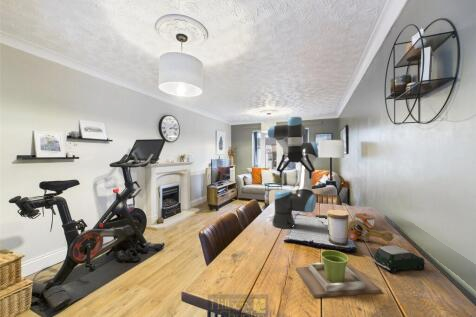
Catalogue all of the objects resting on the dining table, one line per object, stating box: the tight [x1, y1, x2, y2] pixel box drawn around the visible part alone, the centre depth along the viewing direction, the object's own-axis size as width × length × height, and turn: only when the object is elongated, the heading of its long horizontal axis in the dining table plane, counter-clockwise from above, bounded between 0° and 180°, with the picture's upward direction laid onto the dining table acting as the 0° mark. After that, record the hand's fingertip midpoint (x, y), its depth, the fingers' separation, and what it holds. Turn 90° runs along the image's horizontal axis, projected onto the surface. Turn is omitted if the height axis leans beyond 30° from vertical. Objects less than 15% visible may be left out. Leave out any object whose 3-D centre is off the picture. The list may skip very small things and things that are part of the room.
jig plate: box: [295, 262, 383, 299], centre depth 74 cm, size 24×16×3 cm, turn 95°
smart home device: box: [315, 214, 328, 219], centre depth 143 cm, size 8×2×20 cm
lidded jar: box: [354, 212, 375, 229], centre depth 128 cm, size 11×11×9 cm
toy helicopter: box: [347, 213, 394, 243], centre depth 106 cm, size 8×21×14 cm, turn 39°
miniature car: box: [372, 244, 426, 275], centre depth 83 cm, size 9×18×8 cm, turn 99°
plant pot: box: [320, 249, 350, 283], centre depth 73 cm, size 9×9×9 cm
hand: (295, 184), depth 108 cm, fingers open, 13 cm apart
